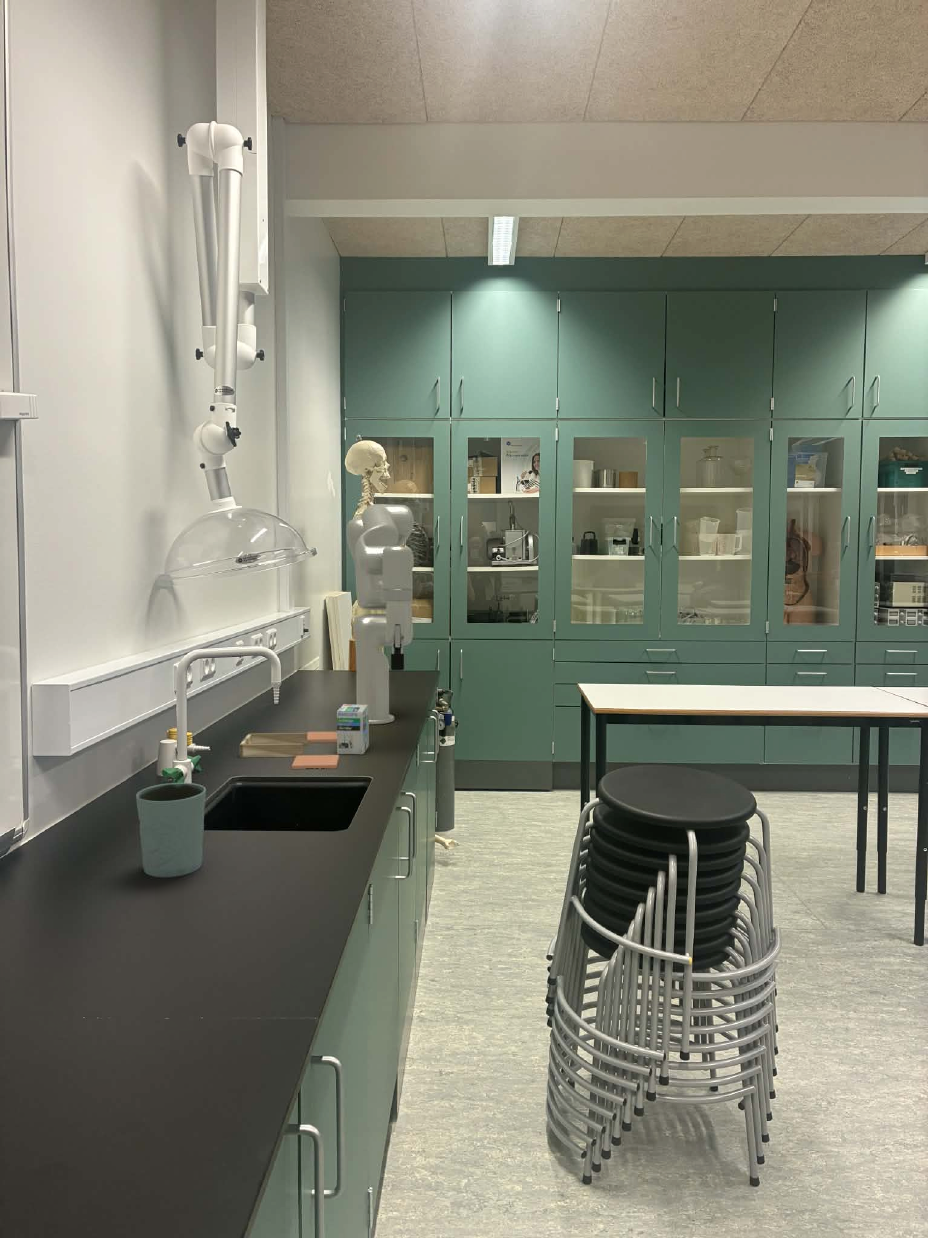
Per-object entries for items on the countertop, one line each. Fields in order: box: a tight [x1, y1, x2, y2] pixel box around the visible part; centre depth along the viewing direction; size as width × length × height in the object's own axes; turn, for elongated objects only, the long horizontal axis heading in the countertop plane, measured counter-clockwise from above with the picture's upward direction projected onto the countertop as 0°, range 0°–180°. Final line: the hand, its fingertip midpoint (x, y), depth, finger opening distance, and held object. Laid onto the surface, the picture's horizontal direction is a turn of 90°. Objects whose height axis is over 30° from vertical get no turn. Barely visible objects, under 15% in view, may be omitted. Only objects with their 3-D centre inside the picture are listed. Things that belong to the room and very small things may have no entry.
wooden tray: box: [238, 732, 309, 759], centre depth 210 cm, size 14×15×3 cm
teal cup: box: [135, 782, 207, 878], centre depth 130 cm, size 10×10×12 cm
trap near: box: [291, 754, 340, 770], centre depth 197 cm, size 10×10×1 cm
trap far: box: [306, 731, 337, 744], centre depth 225 cm, size 10×10×1 cm
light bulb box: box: [336, 703, 370, 755], centre depth 212 cm, size 11×7×11 cm, turn 179°
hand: (397, 669), depth 211 cm, fingers closed
